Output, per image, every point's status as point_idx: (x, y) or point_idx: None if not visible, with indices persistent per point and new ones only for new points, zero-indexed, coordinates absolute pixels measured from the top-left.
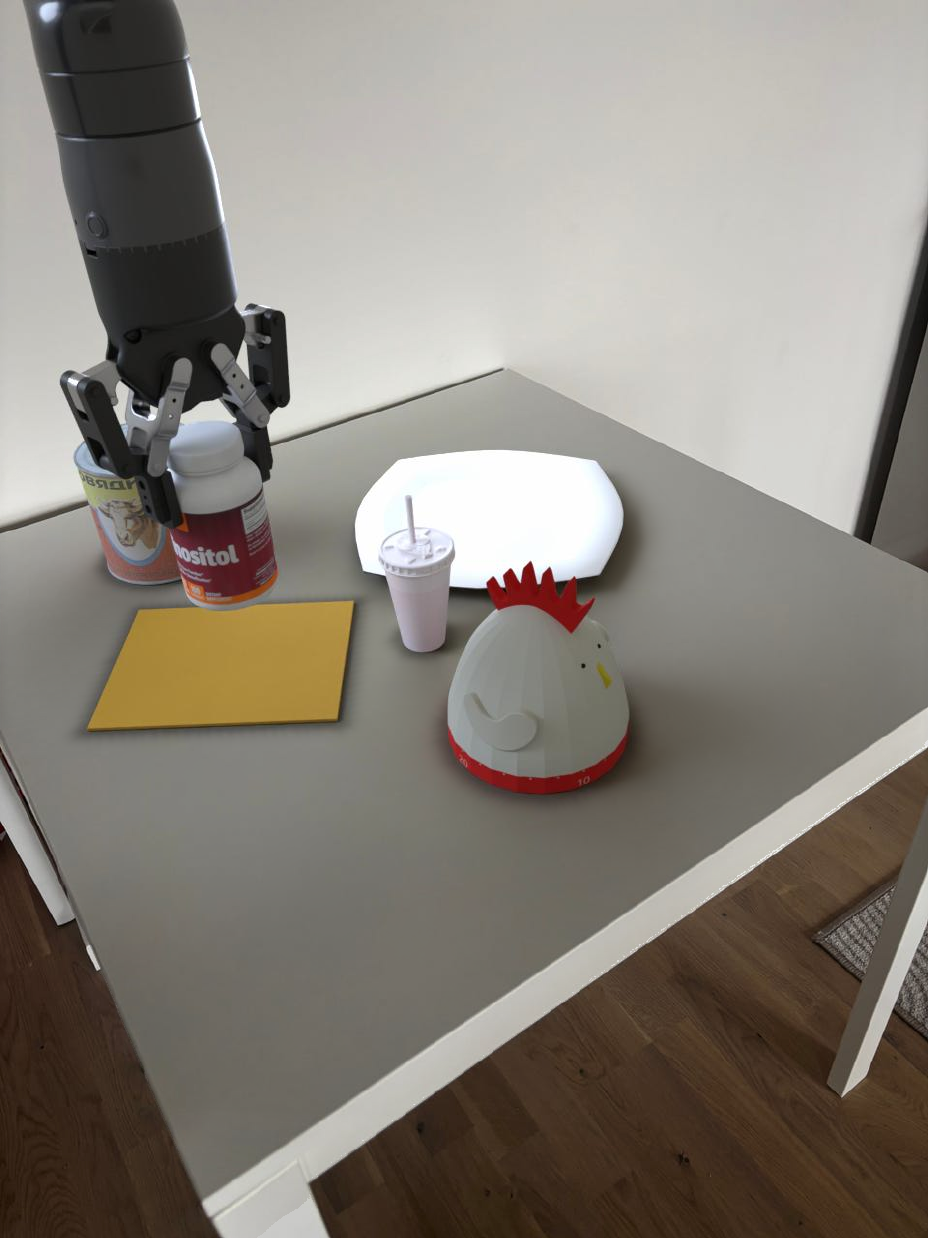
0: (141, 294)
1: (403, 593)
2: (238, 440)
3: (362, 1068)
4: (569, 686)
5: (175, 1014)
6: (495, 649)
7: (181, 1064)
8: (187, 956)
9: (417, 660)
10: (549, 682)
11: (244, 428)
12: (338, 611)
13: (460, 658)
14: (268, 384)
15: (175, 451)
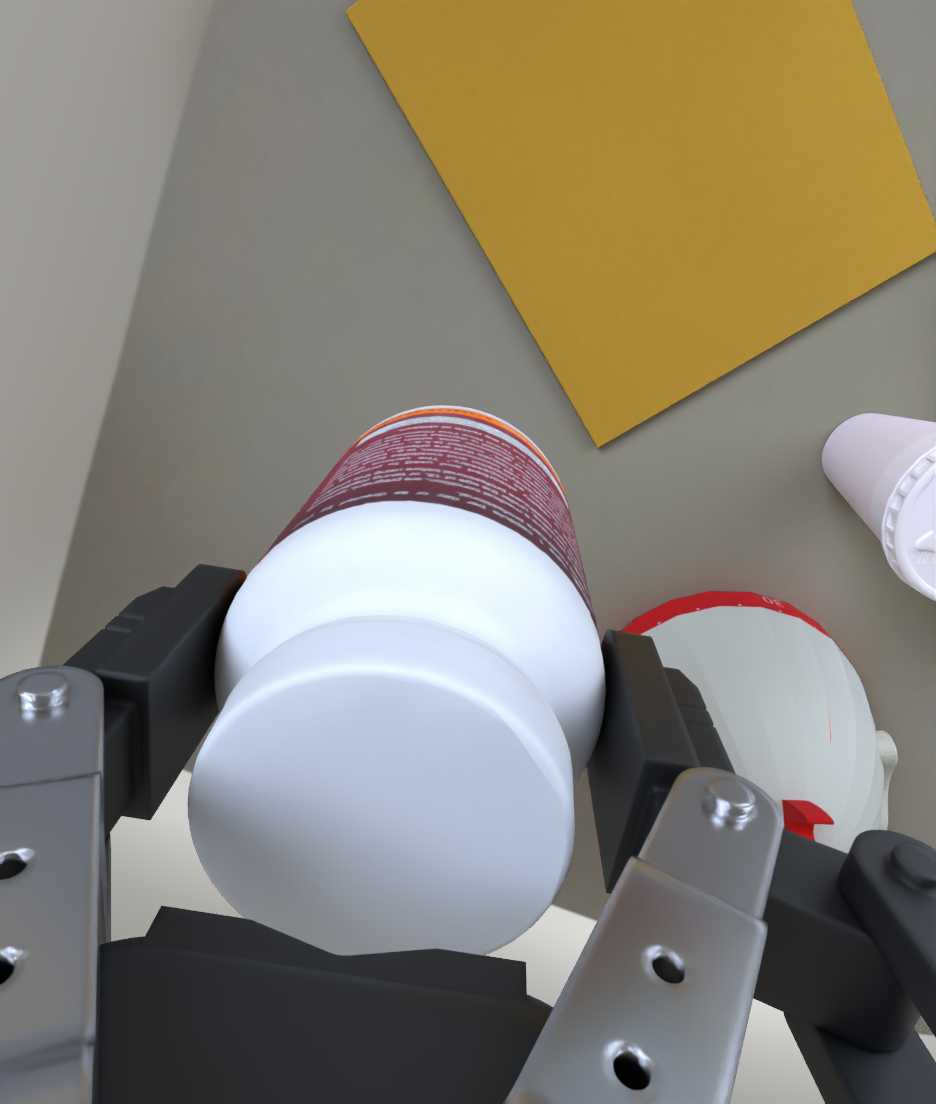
0: None
1: (870, 502)
2: None
3: (193, 760)
4: None
5: (106, 576)
6: None
7: (77, 618)
8: (159, 537)
9: (799, 475)
10: None
11: (626, 841)
12: (895, 240)
13: (717, 685)
14: (905, 999)
15: (204, 831)
